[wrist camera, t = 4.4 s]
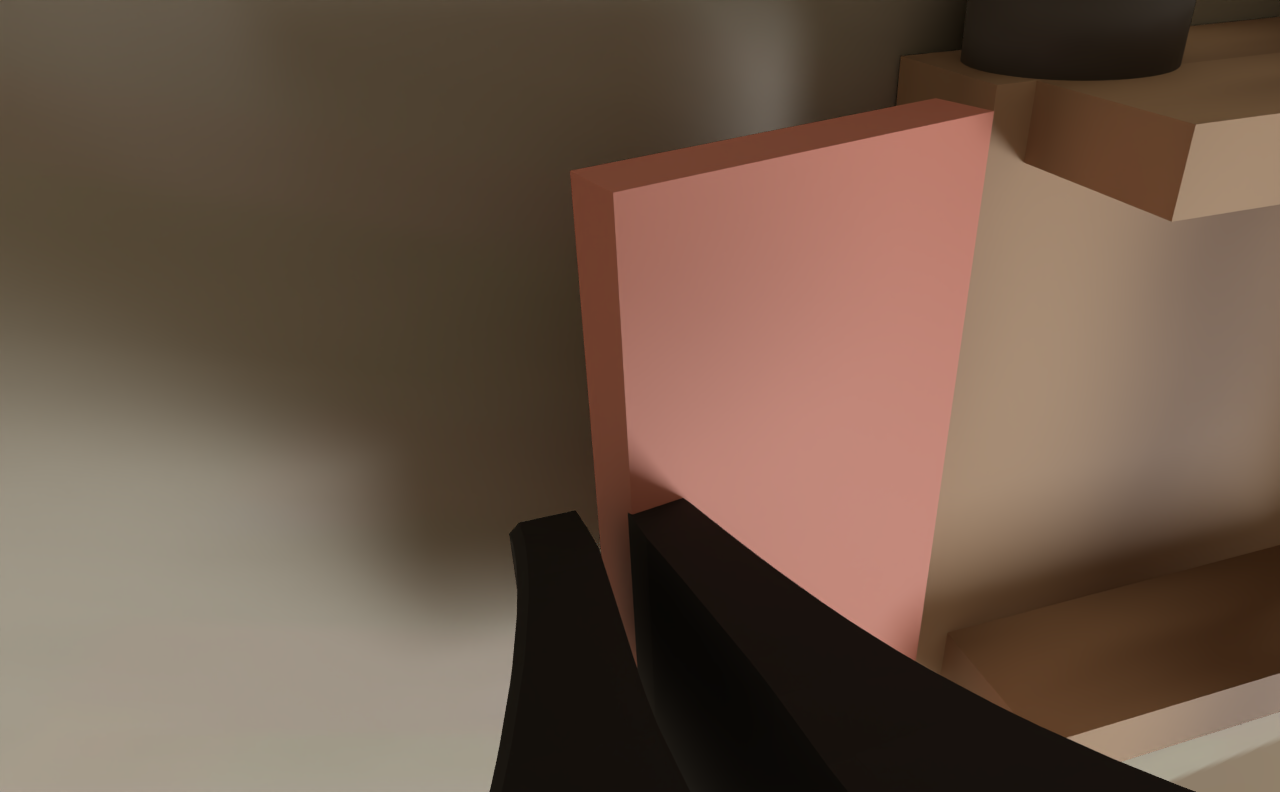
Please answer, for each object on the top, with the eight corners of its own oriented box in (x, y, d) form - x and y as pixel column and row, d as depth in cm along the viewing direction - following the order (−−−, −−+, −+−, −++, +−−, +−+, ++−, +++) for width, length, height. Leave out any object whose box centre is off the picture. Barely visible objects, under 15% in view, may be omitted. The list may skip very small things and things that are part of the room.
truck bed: (1473, -77, 13) (1932, -61, 9) (1253, 536, 19) (1489, 702, 15) (908, -31, 11) (1205, 12, 7) (847, 642, 17) (1000, 865, 13)
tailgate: (994, 110, 9) (613, 192, 8) (907, 716, 14) (652, 861, 12) (916, 93, 10) (555, 162, 8) (857, 669, 15) (611, 797, 13)
